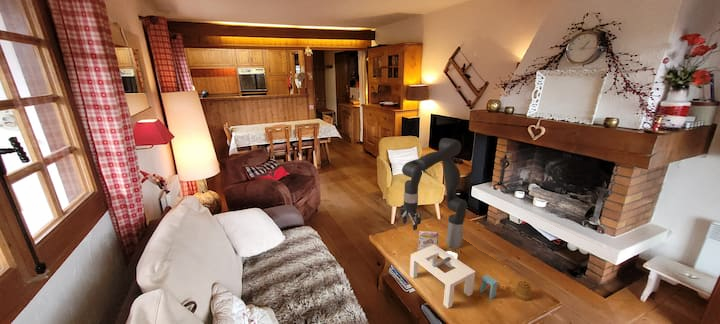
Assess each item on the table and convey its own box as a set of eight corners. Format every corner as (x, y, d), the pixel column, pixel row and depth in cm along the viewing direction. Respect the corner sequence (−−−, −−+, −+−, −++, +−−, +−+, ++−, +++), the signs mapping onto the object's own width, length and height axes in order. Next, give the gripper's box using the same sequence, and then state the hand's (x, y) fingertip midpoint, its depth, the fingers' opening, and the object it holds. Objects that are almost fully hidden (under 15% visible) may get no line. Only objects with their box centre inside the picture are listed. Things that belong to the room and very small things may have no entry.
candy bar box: (418, 258, 177) (419, 234, 172) (417, 253, 182) (418, 230, 177) (436, 259, 176) (438, 235, 171) (435, 254, 181) (437, 231, 176)
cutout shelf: (432, 264, 171) (434, 242, 166) (472, 294, 148) (475, 269, 144) (409, 275, 162) (410, 252, 157) (447, 308, 139) (450, 282, 135)
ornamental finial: (534, 299, 145) (522, 302, 143) (522, 289, 151) (510, 291, 149) (536, 286, 142) (524, 289, 140) (524, 276, 149) (512, 279, 147)
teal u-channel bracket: (484, 288, 152) (487, 274, 149) (495, 296, 147) (497, 281, 144) (480, 291, 150) (482, 277, 147) (490, 299, 145) (493, 284, 142)
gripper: (425, 202, 149) (423, 230, 154) (407, 193, 161) (406, 219, 166) (414, 206, 146) (412, 234, 151) (397, 196, 158) (396, 222, 162)
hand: (409, 226), depth 158 cm, fingers open, 8 cm apart
